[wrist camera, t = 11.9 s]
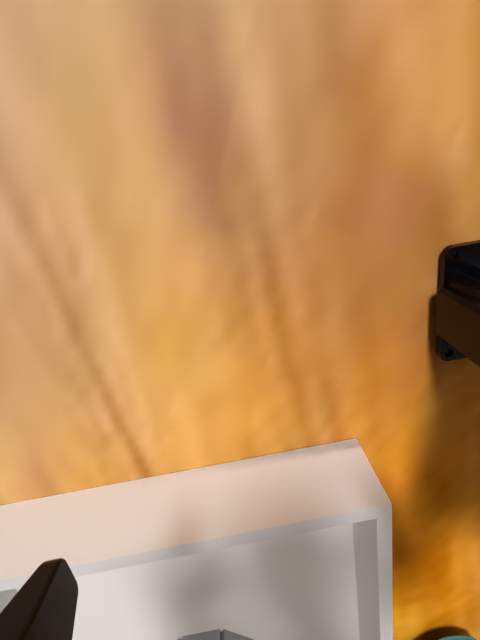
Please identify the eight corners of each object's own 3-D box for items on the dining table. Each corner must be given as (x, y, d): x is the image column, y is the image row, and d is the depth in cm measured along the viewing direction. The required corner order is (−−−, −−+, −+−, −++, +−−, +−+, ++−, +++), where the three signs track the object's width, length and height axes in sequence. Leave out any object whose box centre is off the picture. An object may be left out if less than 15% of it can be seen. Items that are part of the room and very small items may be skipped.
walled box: (356, 438, 24) (392, 504, 20) (367, 658, 34) (393, 737, 29) (-32, 511, 24) (-88, 596, 19) (90, 714, 33) (72, 803, 29)
